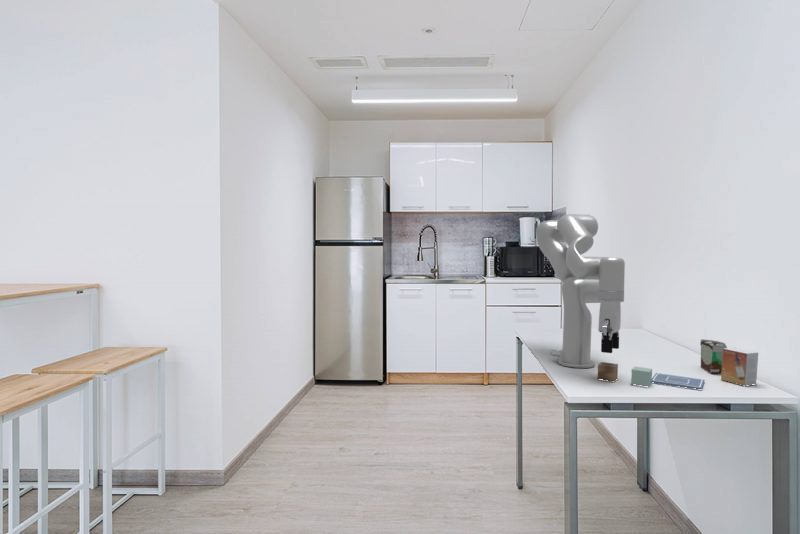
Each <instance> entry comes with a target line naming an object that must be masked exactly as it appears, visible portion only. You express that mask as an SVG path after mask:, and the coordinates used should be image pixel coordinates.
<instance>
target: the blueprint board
mask: <svg viewBox="0 0 800 534" xmlns="http://www.w3.org/2000/svg"><path fill="white" fill-rule="evenodd" d="M704 381H706V380H705V379H703V378H702V379H701V378H696V377H689V376H682V375H674V374H668V373H660V372H655V373H654V375H653V376H652V382H654V383H660V384H666V385H665V386H667V385H673V386H672V387H674V386H680V387H687V388H696V389H702V390H703V388H702V387H704V385H705V382H704ZM654 383H653V384H654ZM660 384H659V385H660ZM703 384H704V385H703ZM680 387H679V388H680ZM687 388H686V389H687Z"/></svg>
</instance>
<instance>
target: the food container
mask: <svg viewBox="0 0 800 534" xmlns="http://www.w3.org/2000/svg"><path fill="white" fill-rule="evenodd" d="M724 348H728V347H727V345H726V343H725V342H723V341H719V340H712V339H700V368H701V369H702V370H703V369H704V370H703V371H705V372H706V371H707V372H706V373H708V374H709V375H720V373H721V372H722V358H723V349H724Z"/></svg>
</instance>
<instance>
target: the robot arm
mask: <svg viewBox="0 0 800 534" xmlns="http://www.w3.org/2000/svg"><path fill="white" fill-rule="evenodd" d="M598 230H599V224H598V221H597V218H595V217H594V216H593V215H590V214H577V213H576V214H574V213H573V214H571V213H569V214H564V215H562V216H561V217H560V218H559V219H557V220H556V219H550V220H549V219H548V220H544V221H541V222H540V223H539V224H538V225H537V227H536V229H535V237H536V242H537V245H538V248H539V249H540V251H541V253H542V254H543V255H544V256H545V257H546V258H547V260H548V261H549V263H550V266H551V267H552V269H553V271H554V273H555V275H556V276H557V278H558V279H559V281H560V282H562V284H561V294H562V301H563V325H562V327H563V329H562V330H563V331H562V349H560V350H556V349H551V351H550V355H551V356H552V357H558V359H557V363H558V364H559V366H564V367H566V368H567V367H568V368H573V369H574V368H575V369H576V368H577V369H589V368H594V367H595V366H596V365H595V364H596V363H595V361H593V360H591V348H592V341H591V340H592V320H593V319H592V317H593V316H592V313H591V311H590V309H589V307H588V306H587V304H599V305H600V306H599V314H598V329H597V330H598V332H599V333H601V339H600V340H601V341H600V342H601V345H600V351H601V353H604V354H605V353H606V354H612V353H613V349H615V350H617V349H620V332H619V331H620V330H621V319H622V318H621V314H622V313H621V312H622V310H621V309H622V307H621V306H622V305H621V303H624V302H625V271H626V270H625V269H626V268H625V265H626V263H625V260H624V258H621V257H608V256H607V257H606V256H582V255H583V254H585V253H587V252H588V251H590V250H591V249H592V247H593V245H594V243H595V242H594V236H596V235H597V234H598ZM563 243H566V244H567V246H566V245H564V244H563Z"/></svg>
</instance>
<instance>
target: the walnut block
mask: <svg viewBox="0 0 800 534" xmlns="http://www.w3.org/2000/svg"><path fill="white" fill-rule="evenodd" d="M618 371H619V364H618V363H614V362H613V363H612V362H606V361H605V362H604V361H601V362H599V364H597V379H603V380H608V381H615V380H616V379H617V380H618V374H619V373H618ZM617 380H616V381H617ZM616 381H615V382H616Z"/></svg>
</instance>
